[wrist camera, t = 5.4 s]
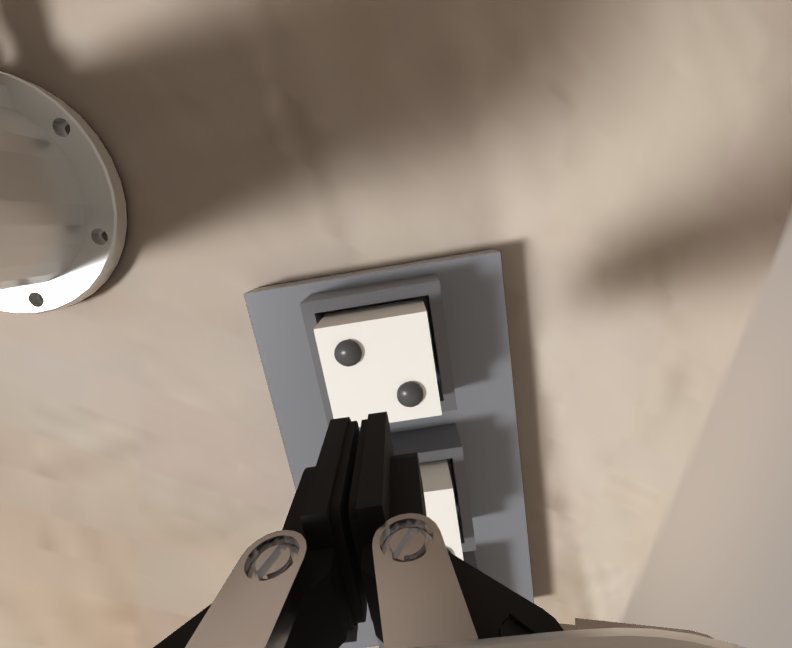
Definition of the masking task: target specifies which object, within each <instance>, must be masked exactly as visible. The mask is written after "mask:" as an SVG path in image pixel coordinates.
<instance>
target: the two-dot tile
mask: <svg viewBox="0 0 792 648" xmlns="http://www.w3.org/2000/svg"><path fill="white" fill-rule="evenodd" d="M313 330H314V334H315V339H316V343H317V348H318V352H319V356H320V361H321V365H322V370H323V374H324V378H325V383H326V387H327V392H328V396H329V401H330V405H331V409H332V414H333V418H334V419H338V418H345V417H350V419H351V421H357V422H358V426H359V427H361V421H362V420H365V419H368V414H372V413H379V412H386V411H387V415H388V419H389V423H392V422H399V421H405V420H412V419H419V418H426V417H432V416H439V415H442V411H441V404H440V398H439V391H438V384H437V378H436V371H435V364H434V357H433V351H432V344H431V337H430V330H429V324H428V317H427V311H426V308H425V305H424V302H423V299H422V298H420V299H413V300H407V301H401V302H395V303H389V304H382V305H376V306H370V307H364V308H358V309H352V310H345V311H339V312H333V313H327V314H325V315H324V316H323V317H322V319H321V320H320V321H319V323H318V324H317V325H316V327H315V328H314V329H313Z"/></svg>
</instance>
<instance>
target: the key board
mask: <svg viewBox="0 0 792 648" xmlns="http://www.w3.org/2000/svg"><path fill="white" fill-rule="evenodd" d="M244 298H245V302H246V306H247V309H248V313H249V317H250V321H251V324H252V328H253V332H254V336H255V339H256V343H257V347H258V351H259V354H260V358H261V362H262V365H263V369H264V373H265V377H266V380H267V384H268V388H269V392H270V395H271V399H272V403H273V407H274V410H275V414H276V418H277V422H278V425H279V429H280V433H281V437H282V440H283V444H284V448H285V452H286V455H287V459H288V463H289V467H290V470H291V474H292V478H293V482H294V485H295V489H296V491H297V488H298V485H299V482H300V480H301V477H302V474H303V471H304V470H305V468H307V467H314V466H316V463H317V460H318V457H319V454H320V451H321V448H322V445H323V441H324V438H325V435H326V432H327V429H328V426H329V423H330V420H331V419H334V418H333V414H332V409H331V405H330V401H329V396H328V392H327V387H326V383H325V378H324V374H323V370H322V365H321V361H320V356H319V352H318V348H317V343H316V339H315V334H314V330H313V329H314V328H315V327H316V325H317V324H318V323H319V321H320V320H321V319H322V317H323V316H324V315H325V314H327V313H333V312H339V311H345V310H352V309H358V308H364V307H370V306H376V305H382V304H389V303H395V302H401V301H407V300H413V299H420V298H422V299H423V302H424V305H425V308H426V311H427V317H428V324H429V330H430V337H431V344H432V351H433V357H434V364H435V371H436V378H437V384H438V391H439V398H440V404H441V411H442V415H439V416H432V417H426V418H419V419H412V420H405V421H399V422H392V423H389V425H390V431H391V436H392V442H393V447H394V453H395V455H399V454H406V453H413V452H417V453H418V459H419V463H423V462H430V461H437V460H443V459H447V463H448V468H449V472H450V477H451V482H452V486H453V492H454V499H455V506H456V512H457V519H458V526H459V532H460V539H461V546H462V553H463V559H464V561H465V562H466V563H468V564H470V565H471V566H473V567H475V568H476V569H478V570H480V571H481V572H483V573H484V574H486V575H488V576H489V577H491V578H493V579H494V580H496V581H498V582H499V583H501V584H503V585H504V586H506V587H507V588H509V589H511V590H512V591H514V592H516V593H517V594H519V595H521V596H522V597H524V598H526V599H527V600H529V601H530V602H532V603H534V598H533V587H532V577H531V566H530V556H529V545H528V535H527V524H526V514H525V503H524V493H523V483H522V472H521V462H520V451H519V441H518V430H517V420H516V409H515V399H514V388H513V378H512V368H511V357H510V347H509V336H508V326H507V315H506V305H505V294H504V284H503V274H502V263H501V253H500V251H497V250H493V249H488V250H482V251H476V252H470V253H464V254H458V255H452V256H446V257H440V258H434V259H428V260H422V261H416V262H410V263H404V264H398V265H392V266H386V267H380V268H374V269H368V270H362V271H356V272H350V273H344V274H338V275H332V276H325V277H319V278H313V279H307V280H301V281H295V282H289V283H283V284H277V285H271V286H265V287H259V288H255V289H253V290H251V291H249V292H247V293H245V294H244ZM360 428H361V427H359V431H360ZM372 646H379V648H384V643H383V642H381V641H380V640H379V639H378V638H377V637H376V634H375V630H374V625H373V621H372V620H371V616H370V612H369V607H368V603H367V616H366V621H365V622H363V623H358V632H357V641H355V642H347V643H343V644H342V645H341V646H340V647H339V648H364V647H372Z"/></svg>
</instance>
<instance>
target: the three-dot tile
mask: <svg viewBox="0 0 792 648" xmlns="http://www.w3.org/2000/svg"><path fill="white" fill-rule="evenodd" d="M419 465H420V471H421V477H422V484H423V491H424V498H425V506H426V515H427V517H429V518H430V519H431V520H433V521H434V522H435V523H436V524H437V526H438V528H439V529H440V531H441V534H442V537H443V540H444V543H445V546H446V548H447V551H448V552H450V553H452V554H453V555H455V556H457V557H458V558H460V559H462V560H463V561H464V559H463V553H462V546H461V539H460V532H459V526H458V519H457V512H456V506H455V499H454V492H453V486H452V482H451V477H450V472H449V468H448V463H447V459H443V460H437V461H430V462H423V463H419Z"/></svg>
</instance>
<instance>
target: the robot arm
mask: <svg viewBox="0 0 792 648" xmlns="http://www.w3.org/2000/svg"><path fill="white" fill-rule="evenodd" d="M126 230H127V213H126V201H125V197H124V193H123V188H122V184H121V180H120V178H119V175H118V173H117V170H116V168H115V166H114V163H113V161H112V158H111V157H110V155H109V153H108V152H107V150H106V149H105V147H104V145H103V144H102V142H101V141H100V139H99V137H98V136H97V135H96V133H95V132H94V131H93V130H92V129H91V128H90V126H89V125H88V124H87V123H86V122H85V121H84V119H83V118H82V117H81V116H80V115H79V114H78V113H76V112H75V111H74V110H73V109H72V108H70V107H69V106H68V105H67V104H66V103H65V102H63V101H62V100H61V99H60V98H58V97H56V96H55V95H53V94H51V93H50V92H48V91H46V90H45V89H43V88H41V87H40V86H38V85H36V84H33V83H31V82H28V81H26V80H23V79H21V78H18V77H16V76H14V75H11V74H8V73H4V72H1V71H0V311H2V312H8V313H14V314H39V313H43V312H48V311H52V310H57V309H61V308H64V307H67V306H70V305H73V304H76V303H78V302H80V301H82V300H84V299H85V298H87V297H89V296H90V295H92V294H94V293H95V292H96V291H97V290H98V289H99V288H100V287H101V286H102V285H103V284H104V283H105V282H106V281H107V280H108V278H109V277H110V275H111V274H112V272H113V271H114V269H115V267H116V266H117V264H118V261H119V259H120V256H121V253H122V251H123V248H124V244H125V237H126ZM367 603H368V607H369V612H370V616H371V620H372V621H373V625H374V630H375V634H376V637H377V638H378V639H379V640H380V641H381V642H383V643H384V648H745V647H742V646H739V645H736V644H732V643H728V642H724V641H720V640H716V639H714V638H712V637H710V636H708V635H706V634H702V633H698V632H694V631H690V630H683V629H673V628H664V627H655V626H645V625H636V624H626V623H617V622H608V621H599V620H589V619H580V618H575V625H569V624H560V623H558V622H557V621H556V619H555V618H554V617H552V616H551V615H550V614H549V613H547V612H546V611H545V610H544V609H542V608H540V607H539V606H537V605H535V604H534V603H532V602H530V601H529V600H527V599H526V598H524V597H522V596H521V595H519V594H517V593H516V592H514V591H512V590H511V589H509V588H507V587H506V586H504V585H503V584H501V583H499V582H498V581H496V580H494V579H493V578H491V577H489V576H488V575H486V574H484V573H483V572H481V571H480V570H478V569H476V568H475V567H473V566H471V565H470V564H468V563H466V562H465V561H463V560H462V559H460V558H458V557H457V556H455V555H453V554H452V553H450V552H448V551H447V548H446V546H445V543H444V540H443V537H442V534H441V531H440V529H439V528H438V526H437V524H436V523H435V522H434V521H433V520H431V519H430V518H429V517H427V515H426V506H425V498H424V491H423V484H422V477H421V471H420V465H419V459H418V453H417V452H413V453H406V454H399V455H395V453H394V447H393V442H392V436H391V431H390V425H389V419H388V415H387V411H386V412H379V413H372V414H368V419H365V420H362V421H361V428H360V431H359V426H358V422H357V421H351V419H350V417H345V418H338V419H331V420H330V423H329V426H328V429H327V432H326V435H325V438H324V441H323V445H322V448H321V451H320V454H319V457H318V460H317V463H316V466H314V467H307V468H305V470H304V471H303V474H302V477H301V480H300V482H299V485H298V488H297V491H296V493H295V496H294V499H293V502H292V505H291V507H290V510H289V513H288V516H287V518H286V521H285V524H284V527H283V529H282V531H276V532H273V533H270V534H268V535H265V536H264V537H262V538H260V539H259V540H257V541H256V542H254V543H253V544H252V545H251V546H250V547H248V548H247V550H246V551H245V552H244V554H243V555H242V556H241V557H240V559H239V561H238V562H237V564H236V566H235V567H234V569H233V570H232V572H231V574H230V575H229V577H228V579H227V580H226V582H225V583H224V585H223V587H222V588H221V590H220V592H219V593H218V595H217V596H216V598H215V600H214V601H213V603H212V604H211V605H209V606H208V607H207V608H205V609H204V610H203V611H201V612H200V613H199V614H197V615H196V616H195V617H193V618H192V619H191V620H189V621H188V622H187V623H185V624H184V625H183V626H181V627H180V628H179V629H177V630H176V631H175V632H173V633H172V634H171V635H169V636H168V637H167V638H165V639H164V640H163V641H161V642H160V643H159V644H158V645H156V646H155V647H154V648H339V647H340V646H341V645H342V644H343V643H347V642H355V641H357V632H358V623H363V622H365V621H366V616H367Z"/></svg>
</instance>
